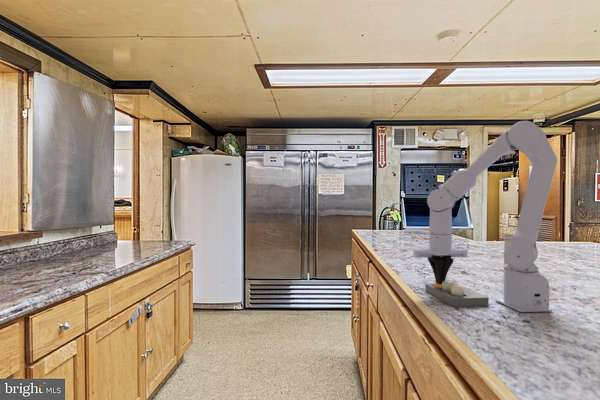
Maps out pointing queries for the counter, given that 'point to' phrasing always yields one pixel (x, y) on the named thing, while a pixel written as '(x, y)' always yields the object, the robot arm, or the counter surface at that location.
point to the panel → (458, 297)
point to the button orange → (437, 285)
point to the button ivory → (457, 290)
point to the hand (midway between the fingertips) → (439, 283)
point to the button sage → (447, 286)
